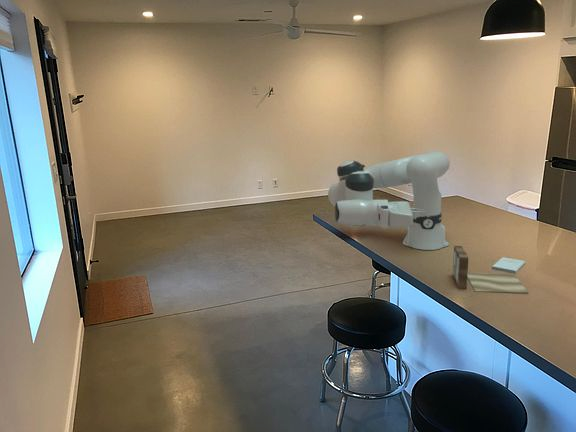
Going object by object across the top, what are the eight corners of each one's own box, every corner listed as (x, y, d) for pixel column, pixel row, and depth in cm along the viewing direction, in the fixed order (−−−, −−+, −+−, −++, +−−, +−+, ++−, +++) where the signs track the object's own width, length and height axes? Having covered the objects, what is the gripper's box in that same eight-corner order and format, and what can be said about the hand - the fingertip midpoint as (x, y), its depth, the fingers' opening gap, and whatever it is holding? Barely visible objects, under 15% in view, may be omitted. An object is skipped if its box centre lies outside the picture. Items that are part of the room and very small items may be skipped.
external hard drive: (491, 270, 170) (501, 260, 179) (515, 275, 165) (525, 264, 174) (491, 266, 170) (502, 256, 179) (516, 270, 164) (525, 260, 174)
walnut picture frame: (452, 275, 165) (453, 245, 163) (459, 275, 165) (461, 245, 162) (457, 288, 154) (459, 257, 151) (466, 289, 153) (468, 257, 151)
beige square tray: (465, 273, 166) (465, 272, 166) (513, 275, 164) (513, 274, 163) (474, 291, 151) (475, 290, 151) (528, 293, 148) (528, 292, 148)
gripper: (381, 214, 169) (421, 214, 166) (383, 229, 149) (428, 230, 147) (382, 197, 167) (422, 197, 165) (383, 210, 148) (428, 211, 145)
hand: (425, 213), depth 156 cm, fingers closed
